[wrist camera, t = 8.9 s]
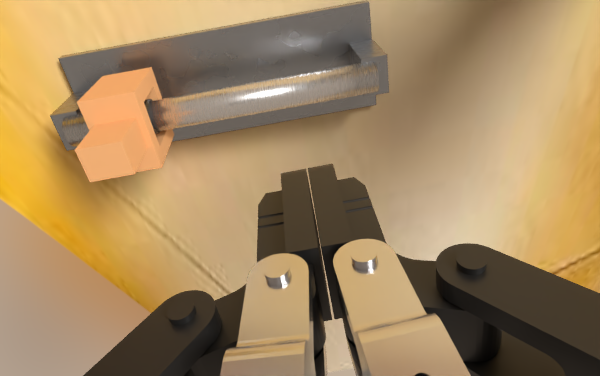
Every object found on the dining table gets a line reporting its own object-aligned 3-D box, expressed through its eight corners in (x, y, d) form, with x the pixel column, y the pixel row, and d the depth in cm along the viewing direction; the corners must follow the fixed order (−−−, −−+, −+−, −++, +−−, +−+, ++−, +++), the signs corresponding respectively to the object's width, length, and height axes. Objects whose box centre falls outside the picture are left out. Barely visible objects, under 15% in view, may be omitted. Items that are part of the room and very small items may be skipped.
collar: (151, 67, 35) (118, 113, 27) (174, 134, 39) (151, 195, 30) (102, 75, 35) (53, 125, 27) (129, 142, 39) (93, 205, 30)
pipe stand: (366, 0, 37) (389, 16, 31) (374, 101, 42) (395, 133, 35) (62, 56, 37) (22, 83, 31) (103, 150, 42) (76, 190, 36)
